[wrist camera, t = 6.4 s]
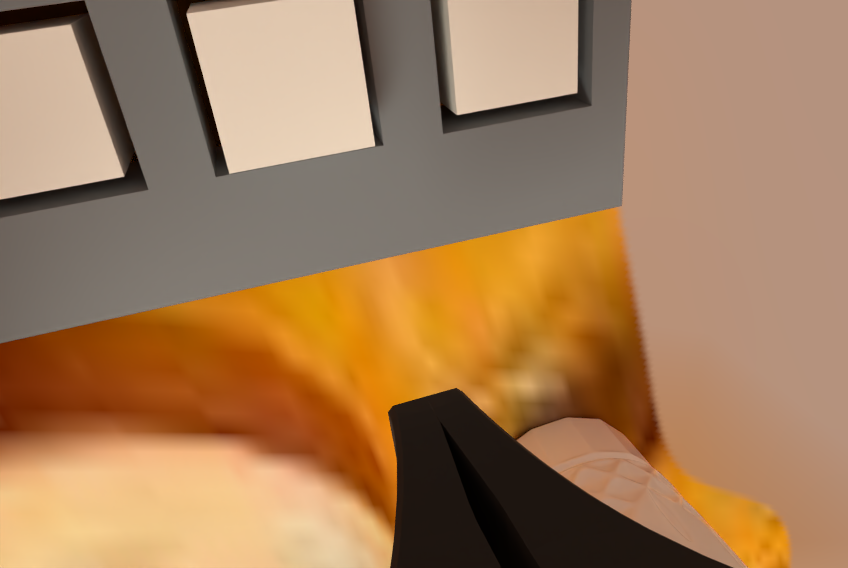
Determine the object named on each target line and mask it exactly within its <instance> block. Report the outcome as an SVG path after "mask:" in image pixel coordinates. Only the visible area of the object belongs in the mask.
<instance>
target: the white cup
mask: <svg viewBox="0 0 848 568" xmlns="http://www.w3.org/2000/svg"><path fill="white" fill-rule="evenodd" d="M516 441H518V442H519V443H520V444H521V445H523V446H524V447H525V448H526V449H528V450H529V451H530V452H531V453H533V454H534V455H535V456H536V457H538V458H539V459H540V460H542V461H543V462H544V463H546V464H547V465H548V466H550V467H551V468H552V469H554V470H555V471H556V472H558V473H559V474H561V475H562V476H564V477H565V478H566V479H568V480H569V481H571V482H572V483H574V484H575V485H577V486H578V487H580V488H581V489H583V490H584V491H586V492H587V493H589V494H590V495H592V496H593V497H595V498H596V499H598V500H600V501H601V502H603V503H605V504H606V505H608V506H610V507H611V508H613V509H615V510H616V511H618V512H620V513H621V514H623V515H625V516H627V517H629V518H630V519H632V520H634V521H636V522H638V523H639V524H641V525H643V526H645V527H647V528H648V529H650V530H652V531H654V532H656V533H658V534H661V535H663V536H665V537H667V538H669V539H671V540H673V541H675V542H677V543H679V544H681V545H683V546H685V547H688V548H690V549H692V550H694V551H696V552H698V553H700V554H702V555H704V556H707V557H709V558H711V559H714V560H716V561H719V562H721V563H723V564H726V565H728V566H731V567H733V568H748V567H747V566H746V565H745V564H744V562H743V561H742V560H741V559H740V558H739V557H738V556H737V555H736V553H735V552H734V551H733V550H732V549H731V548H730V547H729V546H728V545H727V543H726V542H725V541H724V540H723V539H722V538H721V537H720V536H719V534H718V533H717V532H716V531H715V530H714V529H713V528H712V527H711V526H710V525H709V524H708V523H707V522H706V521H705V520H704V519H703V517H702V516H701V515H700V514H699V513H698V512H697V511H696V510H695V509H694V508H693V507H692V506H691V505H690V504H689V503H688V502H687V501H685V500H684V498H683V497H682V496H681V494H680V493H679V492H678V491H677V490H676V489H675V487H674V486H673V485H672V484H671V483H670V482H669V481H668V480H667V479H666V478H665V477H664V476H663V475H662V474H660V473H659V472H658V471H657V470H656V469H655V468H653V467H652V466H651V465H650V464H649V463H648V461H647V460H646V459H645V458H644V457H643V456H642V455H641V453H640V452H639V451H638V450H637V449H636V448H635V447H634V445H633V444H632V443H631V442H630V441H629V440H628V439H627V437H626V436H625V435H624V434H623V433H621V432H619V431H618V430H616V429H615V428H613V427H612V426H610V425H609V424H607V423H605V422H604V421H602V420H601V419H591V418H571V417H567V418H563V419H560V420H557V421H554V422H551V423H548V424H545V425H542V426H539V427H536V428H534V429H531V430H530V431H528V432H527V433H525V434H524V435H523V436H521V437H520V438H519V439H517V440H516Z"/></svg>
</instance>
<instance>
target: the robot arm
mask: <svg viewBox="0 0 848 568" xmlns="http://www.w3.org/2000/svg"><path fill="white" fill-rule="evenodd" d="M388 415H389V420H390V426H391V431H392V436H393V441H394V446H395V452H396V457H397V506H396V520H395V533H394V543H393V552H392V560H391V567H390V568H733V567H731V566H728V565H726V564H723V563H721V562H719V561H716V560H714V559H711V558H709V557H707V556H704V555H702V554H700V553H698V552H696V551H694V550H692V549H690V548H688V547H685V546H683V545H681V544H679V543H677V542H675V541H673V540H671V539H669V538H667V537H665V536H663V535H661V534H658V533H656V532H654V531H652V530H650V529H648V528H647V527H645V526H643V525H641V524H639V523H638V522H636V521H634V520H632V519H630V518H629V517H627V516H625V515H623V514H621V513H620V512H618V511H616V510H615V509H613V508H611V507H610V506H608V505H606V504H605V503H603V502H601V501H600V500H598V499H596V498H595V497H593V496H592V495H590V494H589V493H587V492H586V491H584V490H583V489H581V488H580V487H578V486H577V485H575V484H574V483H572V482H571V481H569V480H568V479H566V478H565V477H564V476H562V475H561V474H559V473H558V472H556V471H555V470H554V469H552V468H551V467H550V466H548V465H547V464H546V463H544V462H543V461H542V460H540V459H539V458H538V457H536V456H535V455H534V454H533V453H531V452H530V451H529V450H528V449H526V448H525V447H524V446H523V445H521V444H520V443H519V442H518V441H516V440H515V439H514V438H513V437H511V436H510V435H509V434H508V433H507V432H505V431H504V430H503V429H502V428H501V427H500V426H499V425H497V424H496V423H495V422H494V421H493V420H492V419H491V418H489V417H488V416H487V415H486V414H485V413H484V412H483V411H482V410H481V409H480V408H479V407H478V406H477V405H475V404H474V403H473V402H472V401H471V400H470V399H469V398H468V397H467V396H466V395H465V394H464V393H463V392H462V391H460V390H459V389H457V388H455V389H451V390H448V391H444V392H440V393H437V394H433V395H430V396H426V397H423V398H419V399H416V400H412V401H408V402H405V403H401V404H398V405H394V406H393V407H392V408H391V409H390V410H389V412H388Z"/></svg>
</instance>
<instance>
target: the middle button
mask: <svg viewBox="0 0 848 568" xmlns="http://www.w3.org/2000/svg"><path fill="white" fill-rule="evenodd" d="M186 14H187V18H188V22H189V26H190V29H191V33H192V37H193V40H194V44H195V48H196V52H197V55H198V59H199V63H200V66H201V70H202V74H203V78H204V81H205V85H206V89H207V92H208V96H209V100H210V104H211V107H212V111H213V115H214V118H215V122H216V126H217V130H218V133H219V137H220V141H221V144H222V148H223V152H224V156H225V159H226V163H227V167H228V170H229V174H231V173H236V172H241V171H247V170H252V169H257V168H263V167H268V166H273V165H278V164H284V163H289V162H294V161H300V160H305V159H310V158H315V157H321V156H326V155H331V154H337V153H342V152H347V151H352V150H358V149H363V148H368V147H373V146H375V141H374V135H373V128H372V121H371V115H370V108H369V101H368V94H367V88H366V81H365V74H364V68H363V61H362V54H361V47H360V41H359V34H358V27H357V21H356V14H355V7H354V1H353V0H210V1H203V2H196V3H191V4H190V7H189V9H188V11H187V13H186Z"/></svg>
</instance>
